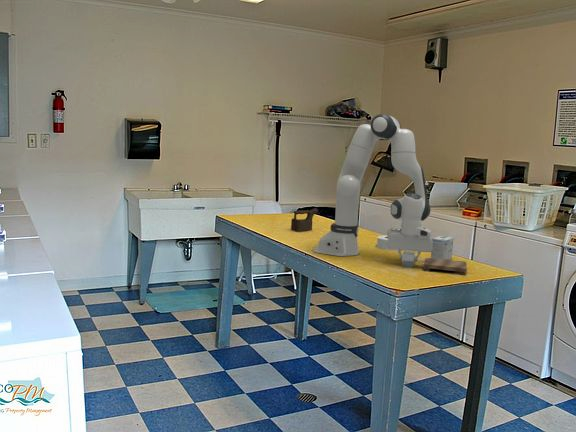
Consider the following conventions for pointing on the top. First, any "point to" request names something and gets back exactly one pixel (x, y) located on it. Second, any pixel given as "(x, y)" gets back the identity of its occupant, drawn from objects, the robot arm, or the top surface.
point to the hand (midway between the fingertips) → (408, 259)
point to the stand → (445, 265)
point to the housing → (408, 259)
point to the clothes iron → (303, 221)
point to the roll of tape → (383, 243)
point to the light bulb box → (442, 247)
